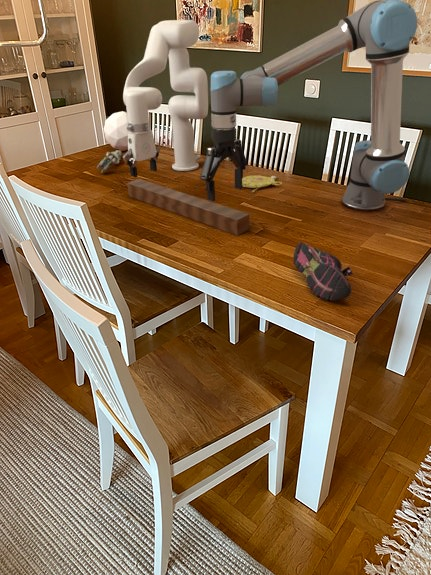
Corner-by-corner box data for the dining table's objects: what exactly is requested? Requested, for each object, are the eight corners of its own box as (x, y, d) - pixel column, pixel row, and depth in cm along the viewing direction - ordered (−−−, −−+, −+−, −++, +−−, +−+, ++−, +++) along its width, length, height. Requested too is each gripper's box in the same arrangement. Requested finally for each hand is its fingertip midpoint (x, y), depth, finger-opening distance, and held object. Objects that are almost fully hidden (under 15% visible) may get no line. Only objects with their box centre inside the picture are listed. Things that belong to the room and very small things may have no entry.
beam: (128, 196, 179) (127, 183, 176) (140, 192, 183) (139, 178, 180) (237, 235, 146) (237, 220, 143) (249, 229, 150) (249, 214, 147)
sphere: (117, 161, 243) (97, 129, 240) (149, 144, 245) (129, 111, 242) (115, 152, 224) (93, 117, 222) (149, 133, 226) (128, 98, 224)
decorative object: (249, 169, 197) (291, 174, 187) (250, 175, 198) (291, 179, 189) (226, 183, 183) (269, 189, 173) (226, 189, 184) (269, 195, 174)
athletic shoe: (338, 290, 105) (377, 282, 109) (296, 227, 116) (333, 222, 121) (320, 318, 113) (358, 309, 118) (283, 256, 125) (319, 251, 129)
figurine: (101, 154, 197) (119, 141, 223) (91, 167, 200) (110, 152, 227) (114, 165, 199) (130, 151, 225) (103, 178, 203) (121, 162, 229)
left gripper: (126, 133, 154) (132, 181, 163) (163, 124, 165) (167, 170, 174) (113, 130, 158) (120, 177, 167) (150, 122, 169) (154, 166, 178)
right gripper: (204, 137, 125) (207, 208, 136) (258, 121, 140) (257, 186, 152) (186, 133, 129) (190, 202, 141) (240, 118, 145) (240, 181, 156)
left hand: (144, 173), depth 170 cm, fingers open, 9 cm apart
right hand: (225, 194), depth 146 cm, fingers open, 13 cm apart
